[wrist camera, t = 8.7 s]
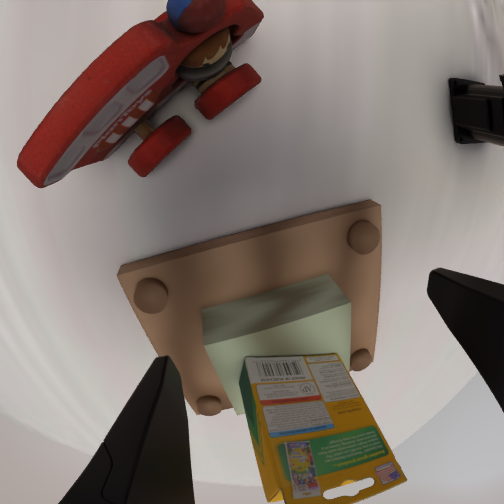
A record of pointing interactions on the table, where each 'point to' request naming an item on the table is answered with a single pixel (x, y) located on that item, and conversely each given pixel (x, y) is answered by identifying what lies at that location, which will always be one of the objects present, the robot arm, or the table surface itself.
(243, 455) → the table surface
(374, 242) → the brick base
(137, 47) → the toy fire truck
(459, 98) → the robot arm
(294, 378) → the crayon box
